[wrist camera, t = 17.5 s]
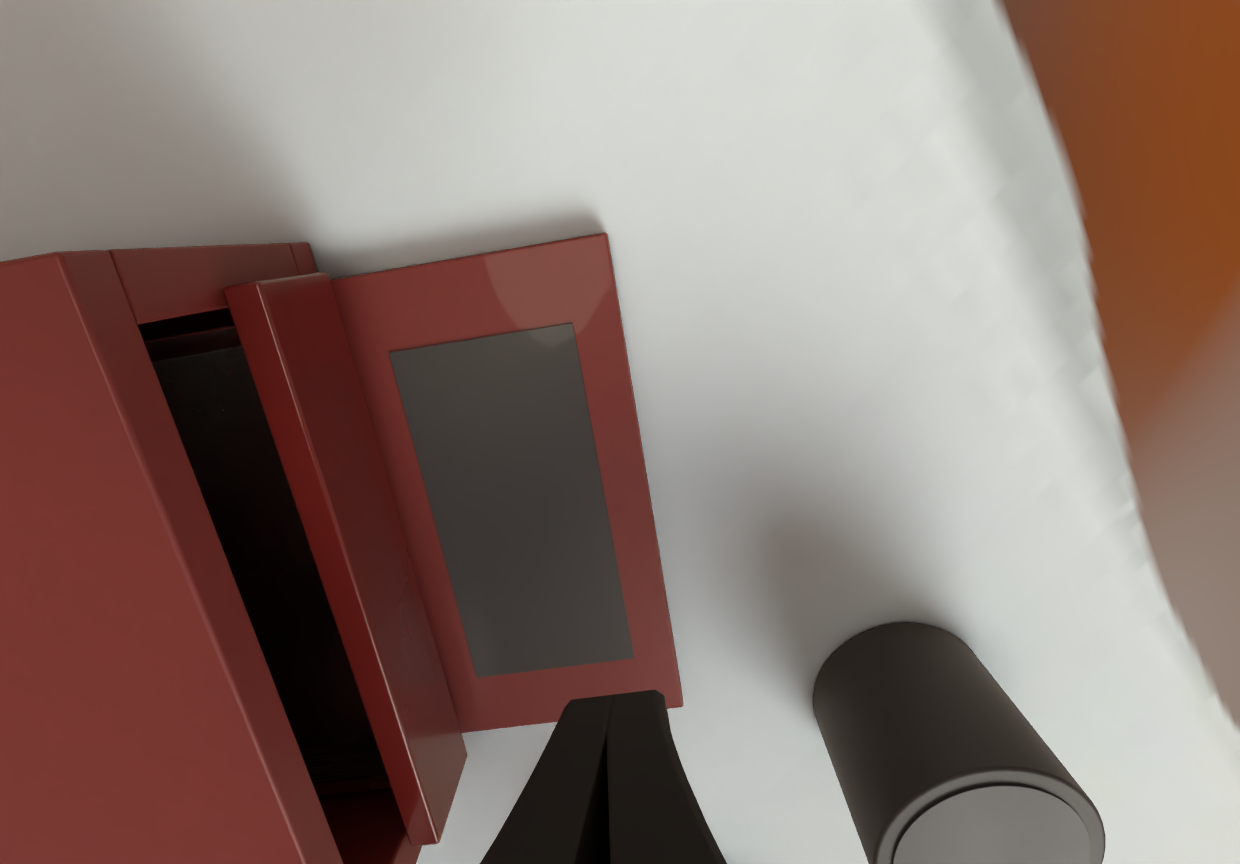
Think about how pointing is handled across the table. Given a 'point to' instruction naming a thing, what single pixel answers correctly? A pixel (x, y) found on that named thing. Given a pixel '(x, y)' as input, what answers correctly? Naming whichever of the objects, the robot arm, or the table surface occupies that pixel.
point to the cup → (945, 758)
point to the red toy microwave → (203, 581)
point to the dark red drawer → (316, 542)
